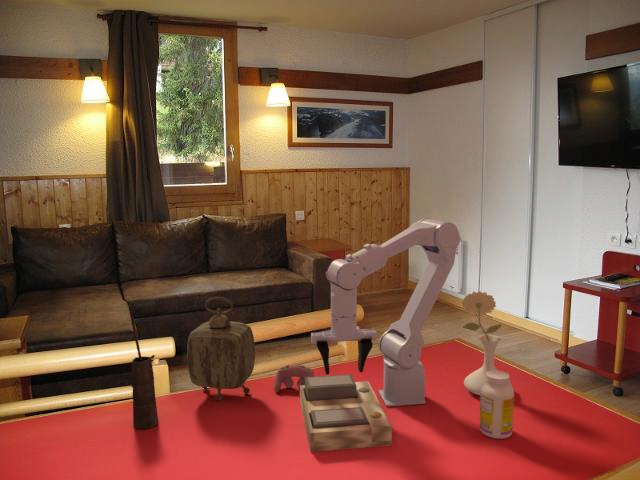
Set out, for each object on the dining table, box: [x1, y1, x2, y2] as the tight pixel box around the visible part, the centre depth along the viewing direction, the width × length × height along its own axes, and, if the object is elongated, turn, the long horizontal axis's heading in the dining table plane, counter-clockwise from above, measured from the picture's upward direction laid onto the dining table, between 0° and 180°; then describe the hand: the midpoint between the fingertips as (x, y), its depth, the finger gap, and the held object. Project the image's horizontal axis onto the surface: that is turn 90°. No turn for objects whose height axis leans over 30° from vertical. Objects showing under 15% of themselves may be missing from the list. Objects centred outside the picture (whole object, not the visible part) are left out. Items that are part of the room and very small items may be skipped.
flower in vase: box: [461, 291, 513, 397], centre depth 132 cm, size 13×11×25 cm
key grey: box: [305, 373, 356, 401], centre depth 125 cm, size 11×6×4 cm, turn 98°
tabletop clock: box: [186, 296, 256, 402], centre depth 130 cm, size 14×9×25 cm, turn 78°
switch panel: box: [299, 380, 393, 453], centre depth 119 cm, size 16×22×4 cm
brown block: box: [311, 407, 368, 429], centre depth 113 cm, size 11×6×4 cm, turn 98°
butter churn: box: [127, 300, 159, 430], centre depth 118 cm, size 9×10×28 cm
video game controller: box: [274, 364, 315, 394], centre depth 136 cm, size 10×5×7 cm, turn 85°
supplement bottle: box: [479, 369, 515, 440], centre depth 114 cm, size 7×7×13 cm
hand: (343, 371), depth 123 cm, fingers open, 7 cm apart
